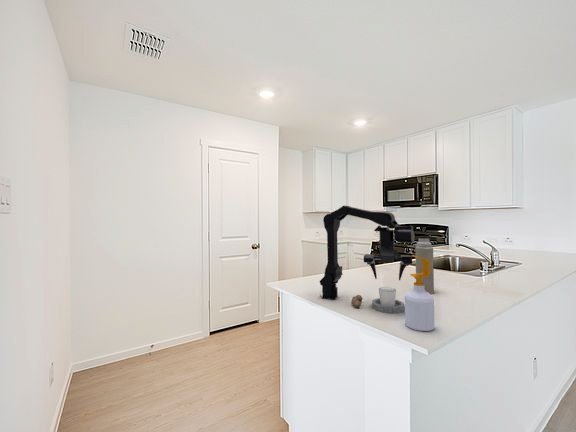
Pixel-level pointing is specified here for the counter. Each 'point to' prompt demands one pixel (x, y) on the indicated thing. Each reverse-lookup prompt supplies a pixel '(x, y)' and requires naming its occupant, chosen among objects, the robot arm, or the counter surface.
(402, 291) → the counter surface
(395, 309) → the tray
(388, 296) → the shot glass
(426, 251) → the thermos bottle
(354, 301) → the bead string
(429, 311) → the soap bottle
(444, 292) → the counter surface
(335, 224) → the robot arm
